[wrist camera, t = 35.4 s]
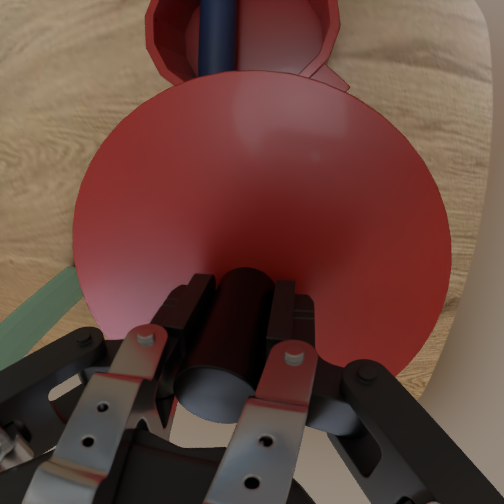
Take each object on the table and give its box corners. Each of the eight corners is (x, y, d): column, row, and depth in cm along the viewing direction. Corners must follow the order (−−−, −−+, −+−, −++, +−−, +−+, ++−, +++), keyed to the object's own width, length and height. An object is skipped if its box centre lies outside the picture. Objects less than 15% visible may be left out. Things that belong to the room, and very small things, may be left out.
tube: (241, -5, 25) (208, -1, 25) (232, -17, 22) (195, -12, 22) (239, 81, 29) (205, 83, 30) (229, 77, 26) (191, 79, 26)
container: (87, 257, 41) (-39, 369, 18) (101, 293, 43) (-6, 415, 20) (59, 261, 42) (-58, 360, 19) (73, 295, 44) (-29, 402, 22)
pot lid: (225, -5, 9) (155, -91, 3) (498, 272, 12) (572, 360, 6) (48, 276, 16) (-28, 341, 10) (267, 437, 18) (252, 525, 12)
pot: (227, -54, 22) (207, -91, 15) (380, 53, 26) (405, 35, 18) (137, 42, 29) (95, 29, 21) (279, 155, 32) (272, 167, 24)
